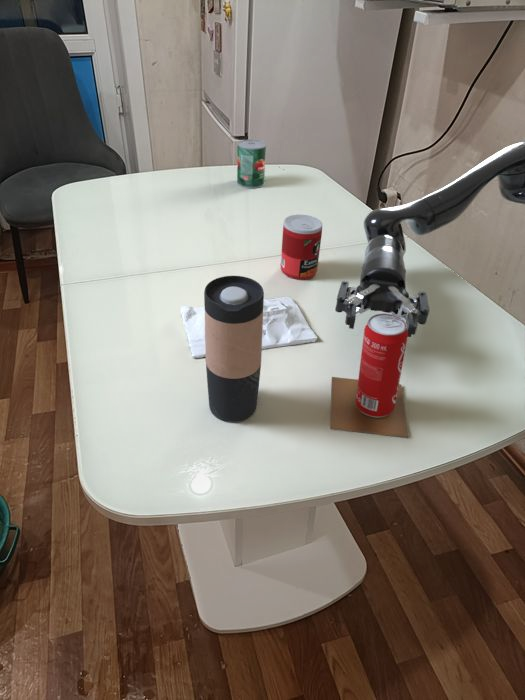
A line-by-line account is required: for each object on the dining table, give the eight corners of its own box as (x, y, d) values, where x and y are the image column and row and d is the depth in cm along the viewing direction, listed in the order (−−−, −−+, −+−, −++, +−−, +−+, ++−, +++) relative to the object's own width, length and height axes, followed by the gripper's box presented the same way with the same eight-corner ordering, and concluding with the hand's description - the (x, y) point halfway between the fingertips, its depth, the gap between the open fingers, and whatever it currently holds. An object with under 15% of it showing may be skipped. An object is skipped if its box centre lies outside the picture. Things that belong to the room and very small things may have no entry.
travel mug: (236, 381, 80) (238, 268, 68) (269, 407, 76) (277, 293, 63) (197, 402, 76) (190, 287, 64) (229, 432, 72) (229, 314, 59)
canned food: (304, 284, 104) (309, 234, 97) (272, 271, 108) (275, 222, 101) (324, 270, 109) (330, 221, 102) (293, 258, 112) (297, 210, 106)
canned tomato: (266, 188, 144) (267, 148, 137) (238, 188, 143) (238, 148, 136) (262, 178, 150) (263, 139, 144) (235, 178, 149) (236, 139, 143)
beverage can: (394, 422, 74) (418, 340, 65) (349, 415, 75) (366, 333, 65) (393, 394, 79) (414, 314, 69) (350, 388, 79) (366, 308, 70)
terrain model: (172, 319, 94) (168, 296, 91) (284, 292, 101) (285, 270, 98) (199, 373, 82) (196, 349, 79) (324, 339, 89) (326, 315, 86)
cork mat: (401, 386, 81) (401, 384, 81) (408, 438, 72) (408, 436, 72) (331, 378, 82) (331, 376, 81) (330, 429, 73) (330, 427, 73)
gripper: (419, 299, 90) (423, 355, 78) (339, 288, 92) (330, 340, 80) (429, 261, 86) (435, 314, 73) (345, 250, 87) (336, 300, 75)
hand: (380, 328), depth 76 cm, fingers open, 8 cm apart
